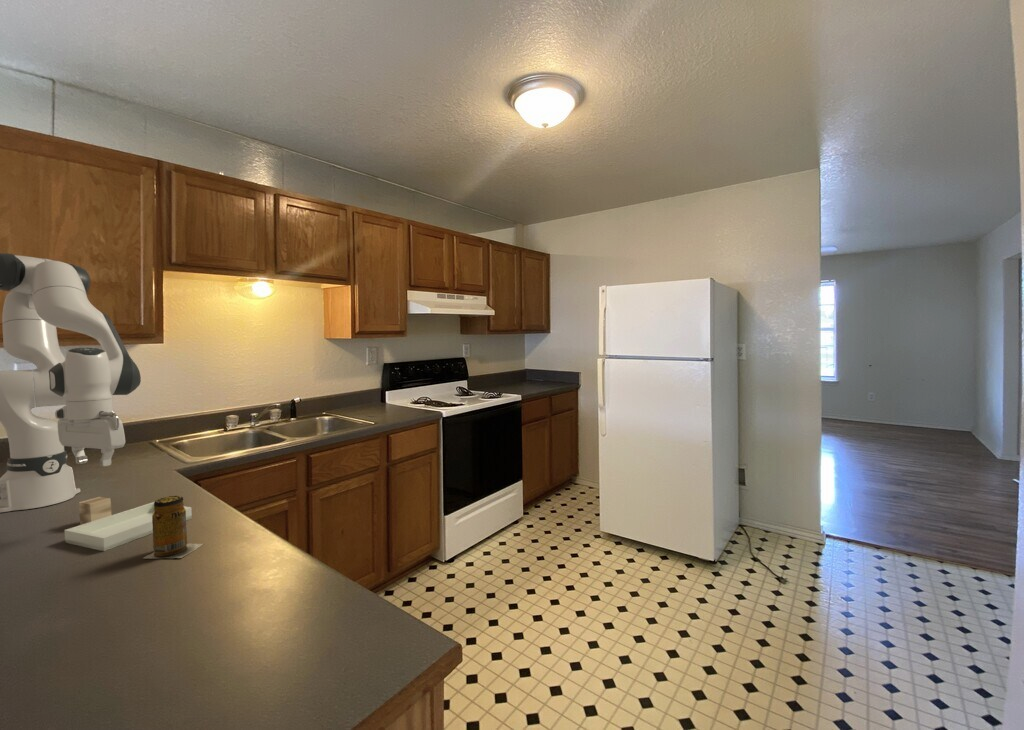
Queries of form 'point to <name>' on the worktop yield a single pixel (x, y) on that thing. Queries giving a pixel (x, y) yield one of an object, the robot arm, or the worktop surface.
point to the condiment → (170, 529)
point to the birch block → (94, 509)
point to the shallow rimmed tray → (115, 528)
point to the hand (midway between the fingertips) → (93, 464)
